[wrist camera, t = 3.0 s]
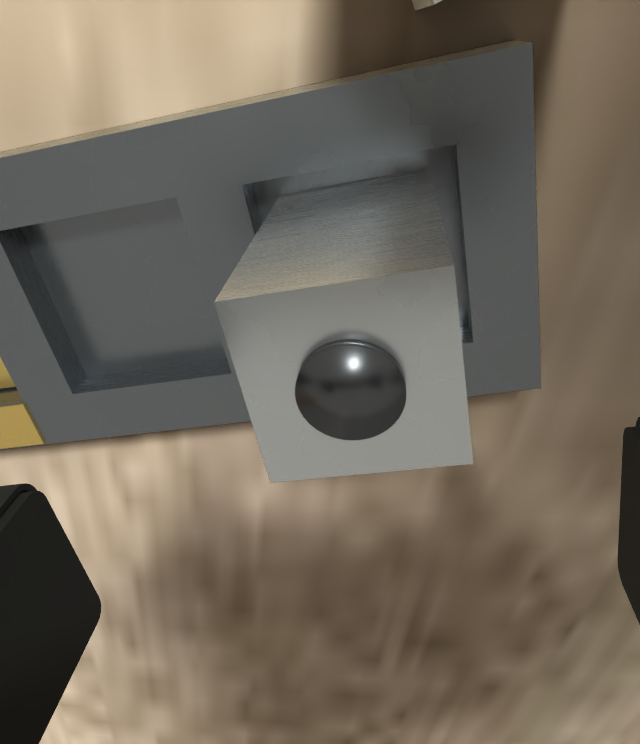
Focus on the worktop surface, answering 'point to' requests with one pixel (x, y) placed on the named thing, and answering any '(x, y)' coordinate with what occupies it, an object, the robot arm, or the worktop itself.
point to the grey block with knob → (350, 332)
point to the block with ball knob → (424, 3)
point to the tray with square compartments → (248, 237)
